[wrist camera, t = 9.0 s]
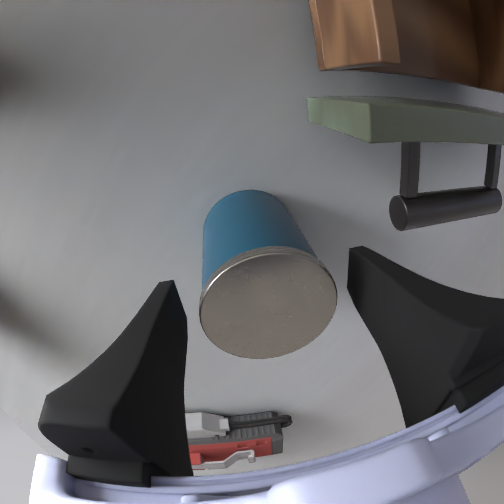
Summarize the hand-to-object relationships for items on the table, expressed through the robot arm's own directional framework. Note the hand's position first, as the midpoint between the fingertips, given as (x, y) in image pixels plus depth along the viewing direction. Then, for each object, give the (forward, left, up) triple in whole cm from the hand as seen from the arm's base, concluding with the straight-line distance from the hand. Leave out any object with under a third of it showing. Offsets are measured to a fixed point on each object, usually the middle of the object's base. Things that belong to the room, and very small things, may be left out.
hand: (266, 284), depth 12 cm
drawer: (+1, -13, -4) cm, 14 cm away
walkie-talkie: (-10, +20, -5) cm, 23 cm away
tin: (0, 0, -5) cm, 5 cm away
